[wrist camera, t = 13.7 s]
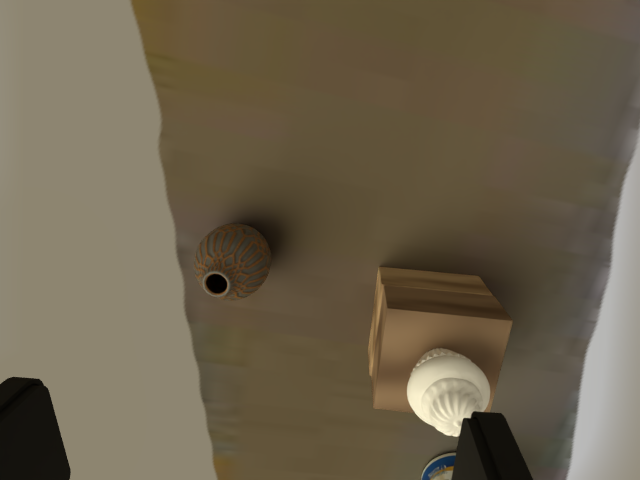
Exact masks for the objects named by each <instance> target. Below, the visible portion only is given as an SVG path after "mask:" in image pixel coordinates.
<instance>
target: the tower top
mask: <svg viewBox="0 0 640 480" xmlns="http://www.w3.org/2000/svg"><path fill="white" fill-rule="evenodd" d="M512 323H513V320H512V319H511V318H510V316H509V315H508V314H507V312H506V311H505V310H504V308H503V307H502V306H501V304H500V303H499V301H498V300H497V299H496V297H495V296H491V295H481V294H470V293H460V292H450V291H439V290H429V289H419V288H408V287H398V286H388V285H383V293H382V300H381V308H380V315H379V323H378V330H377V337H376V345H375V352H374V360H373V367H372V375H371V379H372V394H373V408H376V409H385V410H394V411H403V412H411V413H415V412H414V411H413V409H412V408H411V406H410V404H409V401H408V397H407V385H408V381H409V378H410V376H411V373H412V371H413V368H414V367H415V365H416V364H417V363H418V361H419V360H420V359H421V357H422V356H423V355H424V354H426V352H429V351H430V350H433V349H436V348H439V349H440V348H443V349H448V350H451V351H453V352H456V353H458V354H461V355H463V356H465V357H466V358H468V359H470V360H471V362H472V363H474V364H475V365H476V366H478V367H479V368H480V369H481V371H482V372H483V373H484V374H485V376H486V378H487V380H488V382H489V386H490V399H489V403H488V406H487V408H486V409H485V411H484V412H490V409H491V405H492V401H493V397H494V393H495V389H496V385H497V381H498V377H499V374H500V370H501V366H502V362H503V358H504V354H505V350H506V346H507V342H508V338H509V334H510V331H511V327H512Z"/></svg>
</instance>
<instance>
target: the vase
mask: <svg viewBox="0 0 640 480" xmlns="http://www.w3.org/2000/svg"><path fill="white" fill-rule="evenodd" d="M270 266H271V252H270V248H269V245H268V243H267V241H266V240H265V238H264V237H263V236H262V234H261V233H259V232H258V231H257V230H256V229H254V228H252V227H250V226H248V225H244V224H236V223H234V224H227V225H223V226H220V227H218V228H216V229H214V230H213V231H211V232H210V233H209V234H208V235H207V236H206V237H205V238H204V239H203V240H202V241H201V243H200V245H199V246H198V249H197V251H196V254H195V259H194V271H195V275H196V278H197V280H198V282H199V284H200V285H201V287H202V288H203V289H204V290H205V291H206V292H207V293H208V294H209V295H211V296H213V297H216V298H218V299H222V300H238V299H242V298H245V297H247V296H249V295H251V294H252V293H254V292H255V291H256V290H257V289H259V287H260V286H261V285H262V284H263V283H264V281H265V280H266V278H267V276H268V273H269V270H270Z"/></svg>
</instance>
